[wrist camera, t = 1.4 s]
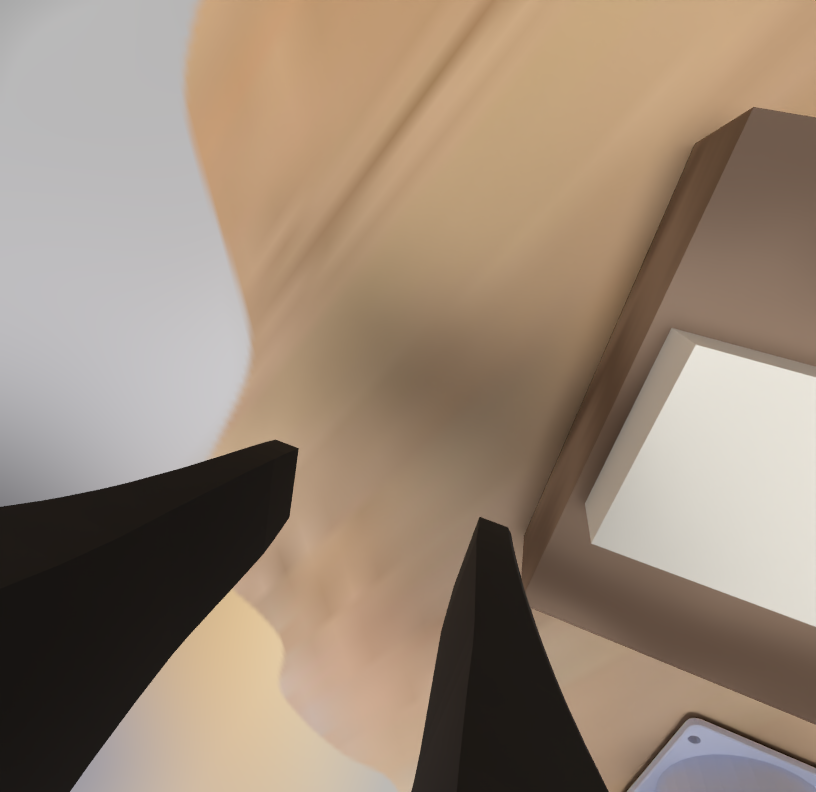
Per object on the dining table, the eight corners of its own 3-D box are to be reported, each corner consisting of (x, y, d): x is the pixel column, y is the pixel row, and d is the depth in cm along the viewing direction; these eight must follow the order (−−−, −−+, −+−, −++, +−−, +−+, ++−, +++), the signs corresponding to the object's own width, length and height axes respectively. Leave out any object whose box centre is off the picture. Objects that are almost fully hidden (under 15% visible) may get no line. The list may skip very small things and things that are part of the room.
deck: (812, 645, 17) (883, 752, 14) (524, 535, 19) (519, 603, 16) (1192, 238, 11) (1517, 237, 7) (695, 143, 13) (753, 107, 9)
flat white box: (902, 616, 12) (965, 682, 10) (585, 503, 14) (591, 543, 12) (1083, 438, 10) (1206, 483, 8) (671, 327, 11) (695, 344, 9)
